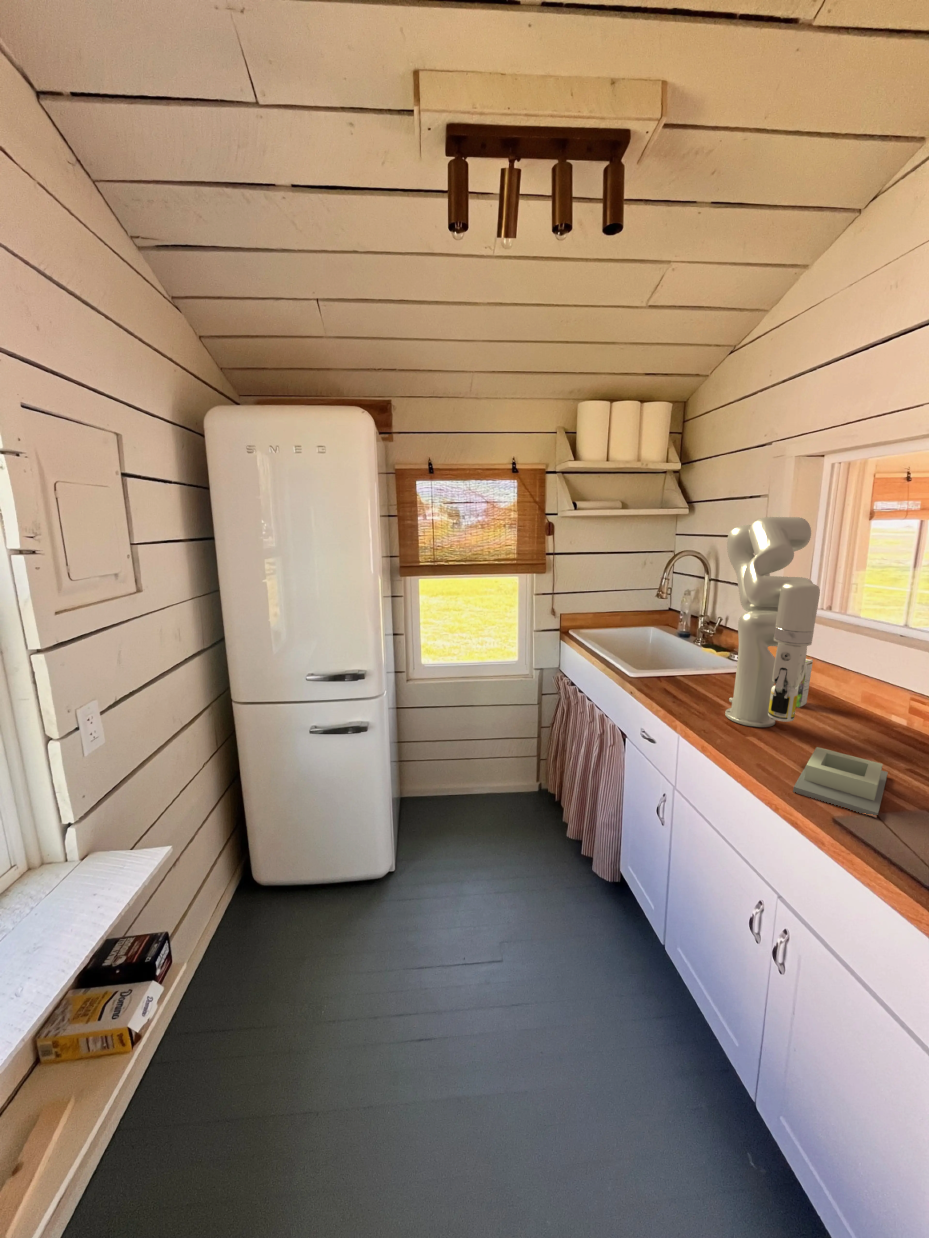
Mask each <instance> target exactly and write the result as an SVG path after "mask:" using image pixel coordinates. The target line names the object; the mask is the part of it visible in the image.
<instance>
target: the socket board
mask: <svg viewBox="0 0 929 1238" xmlns="http://www.w3.org/2000/svg"><path fill="white" fill-rule="evenodd" d="M883 765H884V764H883V763H880V762H877V761H873V760H869V759H866V758H861V757H857V756H853V755H850V754H845V753H842V752H838V751H835V750H830V749H826V748H823V747H819V746H816V747H815V749H814V751H813V752H812V754H811V756H810V758H809V759H808V761H807V763H806V765H805V766H804V768H803V770H802V772H801V773H800V775H799V777H798V779H797V781H796V782H795V783H794V785H793V789H792V792H793V793H795V792H796V793H795V794H798V795H801V796H805V797H808V798H810V797H811V799H814V798H815V800H817V799H818V800H817V801H820V800H821V802H823V801H824V802H823V803H826V802H827V803H826V804H829V803H831V804H830V805H832V804H834V805H833V806H836V805H838V806H837V807H839V806H841V807H840V808H842V807H845V808H848V809H850V810H849V811H851V810H853V811H852V812H854V811H856V812H855V813H858V812H859V813H858V814H861V813H866V814H873V815H878V816H879V813H880V812H879V811H880V807H881V803H882V799H883V795H884V791H885V787H886V783H887V779H888V778H887V776H888V774H889V772H888V771H886V770H882V769H883ZM845 808H844V809H845ZM848 809H847V810H848Z"/></svg>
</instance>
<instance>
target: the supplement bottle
mask: <svg viewBox="0 0 929 1238" xmlns="http://www.w3.org/2000/svg"><path fill="white" fill-rule="evenodd" d="M784 684H786V685H788V682H784ZM783 689H785V690H786V687H784V688H783ZM774 690H775V685H774V686H773V687H772V689H771V695H770V703H769V711H768V715H769V716H770V717H771V718H773V719H775V721H779V722H784V723H785V722H786V723H787V722H788V723H789V722H793V721H794V719H795V715H796V708H797V707H796V703H797V696H798V691H797V690H796V689H795V688H793V687H792V686H790V690H789V694H788V698H789V703H788V710H787V713H786V714H782V713H777V712H773V711H771V706H772V699H773V695H774Z"/></svg>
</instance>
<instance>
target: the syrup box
mask: <svg viewBox="0 0 929 1238" xmlns="http://www.w3.org/2000/svg"><path fill="white" fill-rule="evenodd" d="M813 663H814V661H813V659H808V658H806V663H805V672H804V678H803V680H802V681H801V682H800V684H799V685H798V686H797V687H795V689H796V690H797V691H798V696H797V703H796V708H797V709H798V708H801V707H803V706H805V705H806V704H807V703H808V702H807V701H808V695H809V688H810V682H811V678H812V677H811V676H812V675H811V674H812V670H813Z"/></svg>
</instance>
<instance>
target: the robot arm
mask: <svg viewBox="0 0 929 1238" xmlns="http://www.w3.org/2000/svg"><path fill="white" fill-rule="evenodd" d="M811 538H812V527H811V525H810V523H809V522H808V520H806V518H803V517H798V516H767V517H762V518H758V519H757V520H755V521H753V522H752V523H751V524H745V525H739V526H736V527H734V528H732V529H731V530H730V531H729V533H728V535H727V540H726V551H727V555H728V559H729V562H730V564H731V566H732V568H733V570H734V571H735V574H736V580H737V587H738V594H739V595H738V596H739V601H740V605H741V607H742V609H743V610H744V611H746V612H744V613H742V614H741V616H740V617H739V619H738V622H737V634H738V636H737V637H738V652H737V653H738V654H737V660H736V662H737V663H736V671H735V672H736V673H735V681H734V687H733V697H729V699H728V701H729V702H730V703H731V707H729V708H727V709H725V711H724V712H725V713H724V714H725V717H726V718H727V719H729V720H730V721H732V722H734V723H736V724H740V725H743V726H746V727H747V726H748V727H752V728H753V727H754V728H769V727H772V726H774V725H776V720H775V719H773V718H771V717H770V716H769V715H768V711H769V703H770V695H771V689H772V687H773V686H775V690H774V695H773V699H772V706H771V711H773V712H777V713H782V714H786V713H787V710H788V703H789V698H788V694H789V690H790V686H792V687H793V688H795V687H797V686H798V685H799V684H800V682H801V681H802V680H803V678H804V672H805V663H806V659H807V653H808V652H807V651H808V647H809V646H812V644H813V637H814V631H815V624H816V619H817V615H818V614H817V612H818V608H819V600H820V594H821V588H820V587H819V586H818V584H815V583H814V582H813V581H812V580H811V579H810V578H807V577H802V576H801V577H799V576H777V575H776V576H775V575H771V574H772V573H776V572H779V571H781V570H783V569H785V568H786V567H787V566H789V565H790V564H791V563H792V562H793V560H794V557H795V552H797V551H799V550H800V551H801V550H803V549H804V548H805V547H806V546H807V545H808V544H809V542H810V540H811ZM769 647H776V651H775V652H776V653H775V656H774V655H773V654H772V652H771V651H770V650H769ZM784 682H788V685H786V684H784ZM784 687H786V690H785V689H783V688H784Z"/></svg>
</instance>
